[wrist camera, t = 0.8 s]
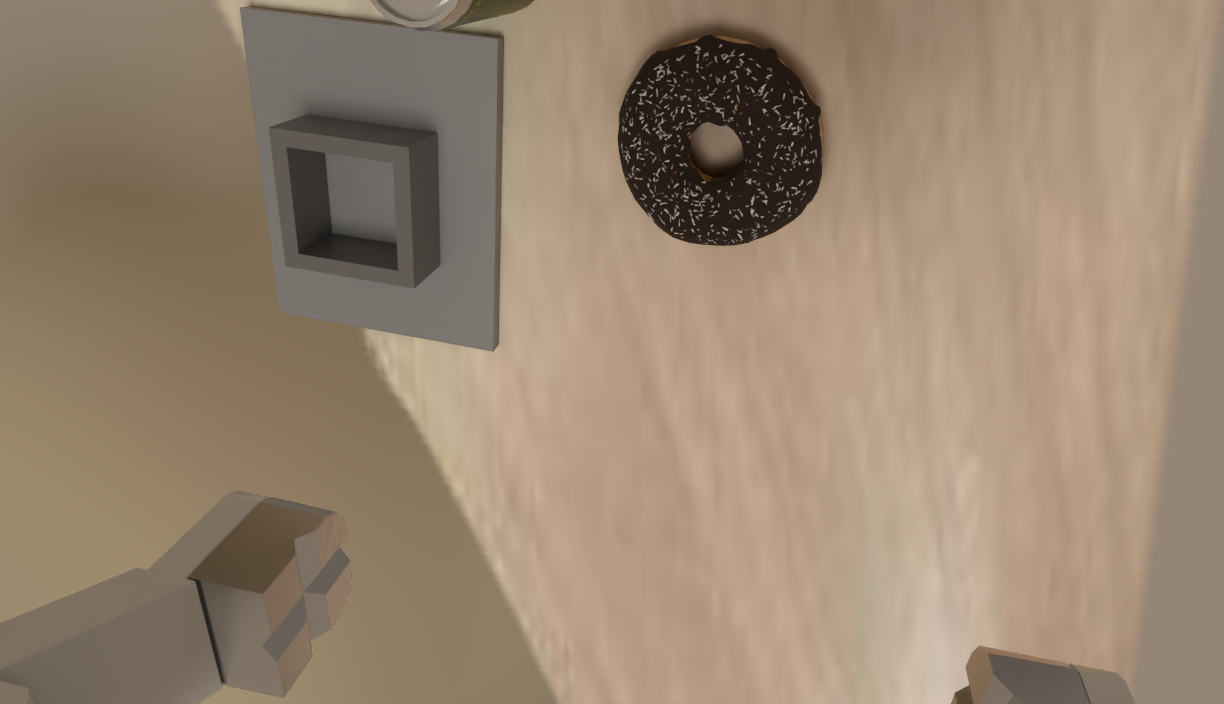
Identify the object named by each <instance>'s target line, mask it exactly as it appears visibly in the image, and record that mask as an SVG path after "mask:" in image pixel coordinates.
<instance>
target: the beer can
mask: <svg viewBox="0 0 1224 704" xmlns="http://www.w3.org/2000/svg"><path fill="white" fill-rule="evenodd" d="M370 1H371V2H372V3H373V5H374V6H375V7H376V8H377V10H378V11H379V12H380V13H382V14H383V15H385V16H386V17H387V18H389V19H390V20H392V21H393V22H395V23H398V24H401V25H403V26H406V27H410V28H413V29H416V30H419V31H436V30H442V29H446V28H451V27H455V26H459V25H463V24H467V23H472V22H476V21H480V20H484V19H488V18H493V17H497V16H501V15H505V14H509V13H514V12H516V11H518V10H521V9H523V8H525V7H527V6H528V5H529V4H530V3H531V2H532V1H533V0H370Z"/></svg>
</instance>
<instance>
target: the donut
mask: <svg viewBox="0 0 1224 704" xmlns="http://www.w3.org/2000/svg"><path fill="white" fill-rule="evenodd" d="M619 107H621V109H620V113H619V132H618V145H619V154H620V159H621V164H622V169H623V173H624V176H625V179H626V182H627V184H628V186H629V188H630V190H631V192H632V194H633V196H634V198H635V200H636V201H637V202H638V204H639V205H640V206H641V208H642V209H643V210H644V211H645V212H646V213H647V215H648V216H649V218H650V219H652V220H653V221H654V223H655V224H656V225H657V226H658V227H659V228H661V229H662V230H663V231H665V232H666V233H667V234H669V235H670V236H672V237H674V238H676V239H679V240H683V241H685V242H688V243H695V244H703V245H718V246H726V245H738V244H744V243H749V242H751V241H753V240H756V239H759V238H762V237H765V236H767V235H769V234H772V233H774V232H776V231H777V230H779V229H781V228H782V227H784V226H785V225H787V224H789V223H790V222H792V221H793V220H794V219H795V218H797V217H798V216H799V215H800V214H801V213H802V212H803V210H804V209H805V207H806V206H807V204H808V203H810V202H811V201H812V199H813V198H814V196H815V194H816V193H817V191H818V187H819V184H820V179H821V175H822V161H823V155H824V143H823V130H822V121H821V118H820V113H821V110H820V107H818V106H817V105H815V103H814V100H813V98H812V96H811V95H810V93H809V92H808V90H807V89H806V87H805V86H804V84H803V82H802V81H801V79H800V78H799V77H798V76H797V75H796V74H795V73H794V72H793V71H792V70H791V69H790V68H789V67H788V66H787V65H786V64H785V63H784V62H783V61H782V60H781V59H780V58H779V57H778V56H777V52H776V50H774V49H772V48H769V49H763V48H761V47H759V46H757V45H754V44H752V43H750V42H748V41H744V40H740V39H735V38H731V37H726V36H712V35H708V36H703V37H699V38H696V39H693V40H690V41H686V42H683V43H680V44H679V45H677V46H675V47H673V48H672V49H669V50H667V51H657V52H656V53H655V54H653V55H652V56H651V57H650V58H649V59H648V60H647V61H646V62H645V64H644V65H643V67H642V68H641V70H640V71H639V73H638V75H637V76H636V77H635V79H634V81H633V82H632V84H631V85H630V87H629V89H628V91H627V93H626V95H625V98H624V101H623V104H621V105H620V106H619ZM705 122H710V123H713V124H716V125H719V126H725V125H727V126H728V127H730V128H731V129H733V130H734V131H735V133H736V134H737V136H738V137H739V139H740V141H741V142H742V148H743V154H744V159H743V162H742V163H741V164H739V165H738V166H737V167H736V168H735V169H733V170H732V171H731V172H730V173H728V174H726V173H724V174H720V175H717V176H716V177H710V176H708V175H706V174H703V173H702V172H701V171H700V170H699V169H698V168H697V167H696V166H695V164H694V162H693V161H692V160H691V159H690V154H689V151H690V147H691V145H690V141H691V138H692V135H693V132H694V131H695V130H696V129H697V128H698V127H699V126H700V125H701V124H702V123H705Z"/></svg>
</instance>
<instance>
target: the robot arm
mask: <svg viewBox="0 0 1224 704" xmlns="http://www.w3.org/2000/svg"><path fill="white" fill-rule="evenodd" d="M346 537H347V530H346V525H345V518H344V516H342V515H340V514H339V513H337V512H333V511H329V510H325V509H321V508H316V507H312V506H308V505H303V504H299V503H295V502H290V501H287V500H282V499H278V498H273V497H266V496H262V495H258V494H254V493H250V492H245V491H241V490H237V491H234V492H232V493H229V494H227V495H226V496H224V497H223V498H222V499H221V500H220V501H219V502H218V503H217V504H216V505H215V506H214V507H213V508H212V509H211V510H210V511H209V512H208V513H207V514H206V515H204V516H203V517H202V519H200V520H199V521H198V522H197V523H196V524H195V525H194V526H193V527H192V528H191V529H190V530H189V531H188V532H187V533H186V534H185V535H184V536H183V537H181V538H180V539H179V541H177V542H176V544H174V545H173V546H172V547H171V548H170V549H169V550H168V551H167V552H166V553H165V554H164V555H163V556H162V557H161V558H160V559H158V561H156V562H155V563H154V564H153V565H152V566H151V567H150V568H149V569H148V570H146V569H141V568H135V569H133V570H131V571H128V572H125V573H123V574H120V575H118V576H116V577H113V578H111V579H108V580H106V581H103V582H101V583H98V584H96V585H94V586H91V587H88V588H86V589H84V590H81V591H79V592H76V593H74V594H71V595H69V596H66V597H64V598H61V599H59V600H57V601H54V602H52V603H49V604H47V605H44V606H42V607H39V608H37V609H34V610H32V611H29V612H27V613H24V614H22V615H19V616H17V617H14V618H12V619H10V620H7V621H5V622H2V623H0V704H200V703H201V702H203V701H204V700H206V699H207V698H209V697H210V696H212V695H214V694H215V693H217V692H218V691H220V690H221V689H222V685H226V686H231V687H235V688H240V689H244V690H249V691H254V692H258V693H263V694H267V695H272V696H277V697H281V698H284V697H285V695H286V694H287V693H288V691H289V690H290V689H291V687H292V686H293V684H294V683H295V681H296V680H297V678H298V677H299V675H300V674H301V673H302V671H303V669H304V668H305V667H306V665H307V664H308V662H309V661H310V659H311V658H312V657H313V656H312V655H313V654H312V645H311V640H312V639H315V638H316V637H318V636H320V635H322V634H324V633H326V632H327V631H329V630H331V629H332V627H333V626H334V624H335V623H336V621H337V620H338V618H339V617H340V615H341V614H342V612H343V609H344V606H345V604H346V601H347V598H348V595H349V593H350V588H351V580H352V569H351V561H350V559H349V558H348V557H347V556H346V554H345V553H344V552H343V551H342V549H341V548H340V547H339V546H340V545H341V544H342V542H343V541H344V540H345V538H346ZM966 671H967V676H968V680H969V686H967V687H965V688H963V689H961V690H959V691H957V692H955V694H954V697H953V700H952V703H951V704H1135V701H1134V699H1133V697H1132V694H1131V692H1130V690H1129V688H1128V685H1127V683H1126V681H1125V680H1124V679H1123V678H1122V677H1121V676H1120V675H1119V674H1118V673H1115V672H1110V671H1105V670H1100V669H1095V668H1090V667H1085V666H1080V665H1075V664H1066V663H1064V662H1059V661H1054V660H1049V659H1044V658H1039V657H1034V656H1029V655H1024V654H1019V653H1014V652H1009V651H1004V650H999V649H994V648H989V647H984V646H978V647H977V648H976V649H975V650H974V651H973V652H972V654H971V656H970V659H969V661H968V663H967V665H966Z"/></svg>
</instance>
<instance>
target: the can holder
mask: <svg viewBox="0 0 1224 704" xmlns="http://www.w3.org/2000/svg"><path fill="white" fill-rule="evenodd" d="M240 13H241V20H242V28H243V36H244V43H245V51H246V59H247V67H248V74H249V82H250V90H251V96H252V105H253V113H254V120H255V127H256V135H257V143H258V151H259V158H260V166H261V173H262V182H263V189H264V197H265V204H266V212H267V219H268V228H269V235H270V243H271V250H272V258H273V266H274V274H275V281H276V288H277V296H278V304H279V311H280V312H281V313H286V314H292V315H297V316H303V317H308V318H313V319H319V320H324V321H330V322H335V323H341V324H346V325H352V326H357V327H362V328H368V329H373V330H379V331H384V332H390V333H395V334H400V335H406V336H411V337H417V338H422V339H428V340H433V341H439V342H444V343H449V344H455V345H460V346H466V347H471V348H477V349H482V350H488V351H494V350H495V349H496V347H497V346H498V333H499V276H500V219H501V163H502V106H503V49H504V37H499V36H490V35H482V34H474V33H466V32H457V31H449V30H436V31H419V30H416V29H413V28H410V27H406V26H403V25H399V24H391V23H383V22H375V21H366V20H358V19H350V18H342V17H333V16H325V15H317V14H308V13H300V12H292V11H284V10H275V9H267V8H259V7H251V6H250V7H241V8H240Z"/></svg>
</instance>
